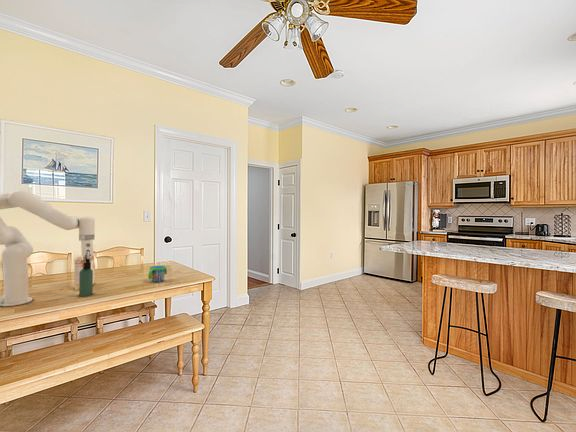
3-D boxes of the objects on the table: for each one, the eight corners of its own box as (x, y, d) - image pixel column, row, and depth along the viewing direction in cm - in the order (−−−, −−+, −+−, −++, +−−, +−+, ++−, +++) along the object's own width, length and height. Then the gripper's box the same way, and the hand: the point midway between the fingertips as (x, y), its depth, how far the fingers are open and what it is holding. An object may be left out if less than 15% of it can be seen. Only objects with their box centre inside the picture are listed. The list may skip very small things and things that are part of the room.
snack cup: (161, 277, 207) (161, 264, 207) (172, 279, 203) (172, 265, 203) (142, 282, 193) (142, 268, 193) (154, 284, 189) (154, 269, 189)
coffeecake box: (82, 284, 188) (82, 255, 188) (94, 283, 191) (94, 254, 190) (74, 290, 174) (74, 259, 174) (87, 289, 177) (87, 258, 176)
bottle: (81, 297, 161) (82, 264, 160) (77, 295, 164) (77, 262, 164) (94, 294, 166) (94, 262, 166) (89, 292, 170) (90, 261, 169)
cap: (90, 267, 165) (90, 262, 165) (82, 267, 162) (82, 262, 162) (89, 266, 168) (89, 261, 168) (81, 266, 165) (81, 261, 165)
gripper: (96, 238, 161) (96, 270, 162) (92, 236, 173) (92, 265, 174) (80, 239, 156) (80, 272, 156) (77, 236, 168) (77, 267, 169)
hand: (86, 268), depth 165 cm, fingers closed on cap, 3 cm apart
